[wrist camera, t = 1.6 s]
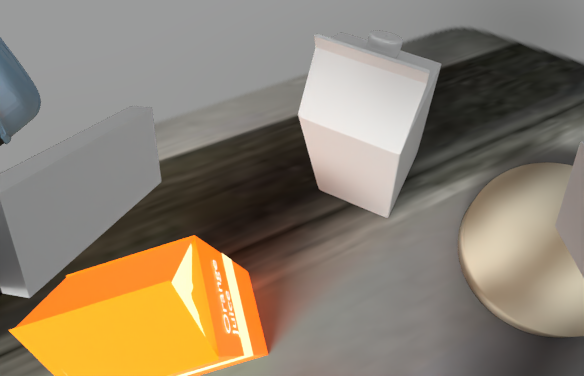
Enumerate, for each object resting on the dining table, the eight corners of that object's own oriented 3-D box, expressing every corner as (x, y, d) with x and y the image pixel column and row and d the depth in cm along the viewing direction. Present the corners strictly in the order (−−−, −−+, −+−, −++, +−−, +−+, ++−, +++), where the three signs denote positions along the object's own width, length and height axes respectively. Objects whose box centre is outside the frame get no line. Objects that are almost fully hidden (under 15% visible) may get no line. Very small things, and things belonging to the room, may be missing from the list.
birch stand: (424, 236, 42) (428, 228, 39) (543, 146, 43) (555, 131, 40) (543, 374, 37) (558, 376, 34) (674, 268, 38) (699, 261, 35)
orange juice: (158, 297, 43) (3, 257, 25) (248, 270, 43) (159, 207, 24) (173, 385, 40) (10, 415, 22) (269, 356, 40) (187, 362, 21)
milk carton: (387, 219, 43) (405, 125, 25) (318, 189, 44) (288, 83, 27) (417, 153, 44) (453, 21, 26) (348, 127, 46) (339, -12, 28)
